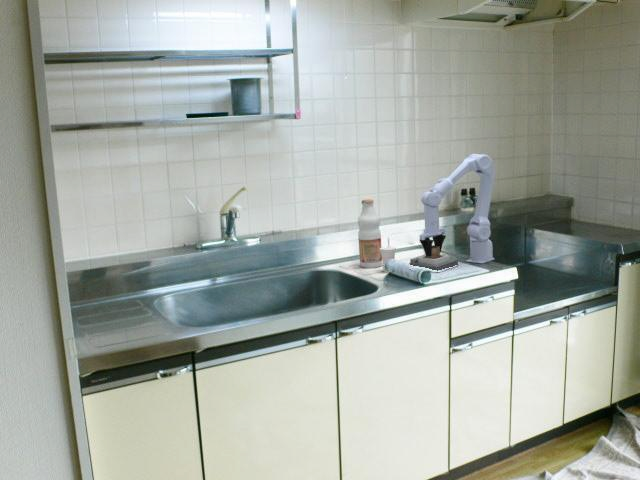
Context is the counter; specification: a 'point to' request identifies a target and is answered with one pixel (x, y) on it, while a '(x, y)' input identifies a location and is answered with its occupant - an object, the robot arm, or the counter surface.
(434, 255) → the brown short cylinder
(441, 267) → the grey square box
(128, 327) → the counter surface
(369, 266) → the fruit juice
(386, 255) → the smoothie
